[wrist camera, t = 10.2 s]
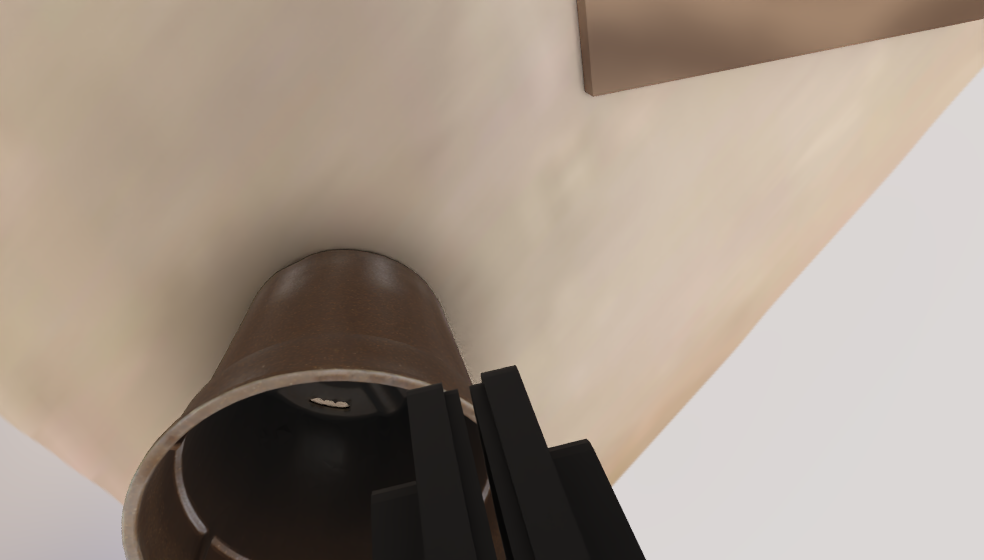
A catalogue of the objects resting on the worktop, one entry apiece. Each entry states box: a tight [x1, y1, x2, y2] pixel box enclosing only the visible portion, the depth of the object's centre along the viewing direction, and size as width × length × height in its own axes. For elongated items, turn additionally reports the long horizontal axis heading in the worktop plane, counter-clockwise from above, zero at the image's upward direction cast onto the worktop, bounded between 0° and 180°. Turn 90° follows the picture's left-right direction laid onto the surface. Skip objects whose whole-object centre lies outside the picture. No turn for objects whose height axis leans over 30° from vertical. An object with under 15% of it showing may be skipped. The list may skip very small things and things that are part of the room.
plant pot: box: [122, 250, 506, 560], centre depth 35 cm, size 16×16×16 cm
